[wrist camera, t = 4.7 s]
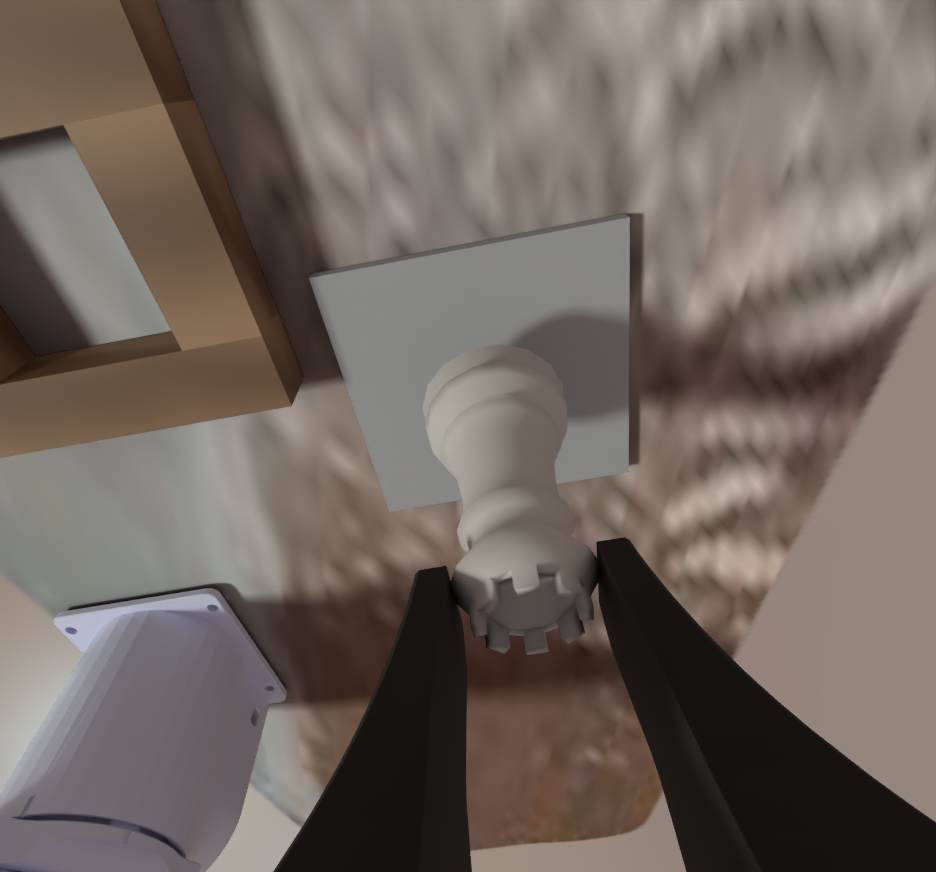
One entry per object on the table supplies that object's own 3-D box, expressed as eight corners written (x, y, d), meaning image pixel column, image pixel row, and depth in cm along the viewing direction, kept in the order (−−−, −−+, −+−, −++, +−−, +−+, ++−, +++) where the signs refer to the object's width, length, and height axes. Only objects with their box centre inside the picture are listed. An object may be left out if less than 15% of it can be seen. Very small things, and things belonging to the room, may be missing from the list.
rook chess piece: (499, 307, 15) (553, 513, 9) (588, 398, 17) (683, 615, 11) (393, 399, 17) (375, 628, 10) (487, 472, 19) (518, 697, 13)
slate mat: (625, 464, 22) (628, 471, 22) (390, 503, 23) (389, 511, 22) (625, 213, 16) (629, 217, 16) (311, 273, 17) (308, 278, 16)
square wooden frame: (303, 377, 19) (291, 406, 17) (14, 429, 20) (-25, 462, 18) (146, -22, 13) (104, -35, 11) (-272, 71, 13) (-372, 71, 12)
